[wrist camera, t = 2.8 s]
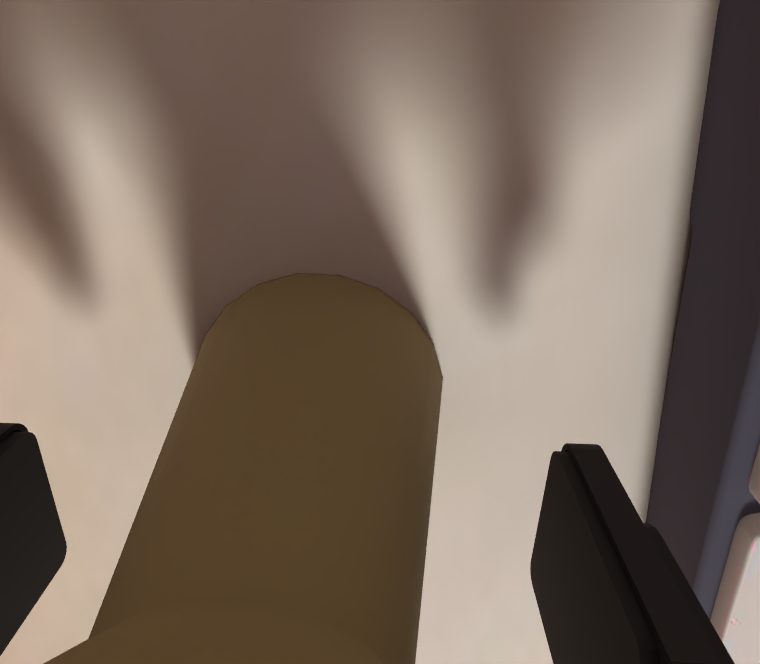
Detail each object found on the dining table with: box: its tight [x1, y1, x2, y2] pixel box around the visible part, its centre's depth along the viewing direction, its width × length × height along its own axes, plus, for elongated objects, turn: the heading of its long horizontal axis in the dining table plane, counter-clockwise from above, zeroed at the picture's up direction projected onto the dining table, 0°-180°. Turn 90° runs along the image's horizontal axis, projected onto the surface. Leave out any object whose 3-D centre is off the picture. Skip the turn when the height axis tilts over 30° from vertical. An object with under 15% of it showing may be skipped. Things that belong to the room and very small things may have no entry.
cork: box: [44, 274, 443, 664], centre depth 9 cm, size 6×6×11 cm
